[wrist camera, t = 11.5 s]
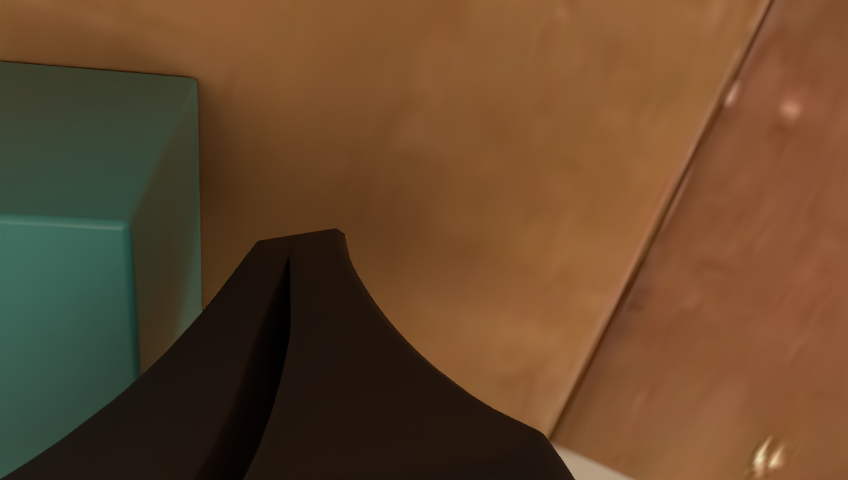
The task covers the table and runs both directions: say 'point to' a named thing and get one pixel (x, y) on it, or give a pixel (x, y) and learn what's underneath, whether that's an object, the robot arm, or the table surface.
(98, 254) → the teal block
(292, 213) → the table surface
